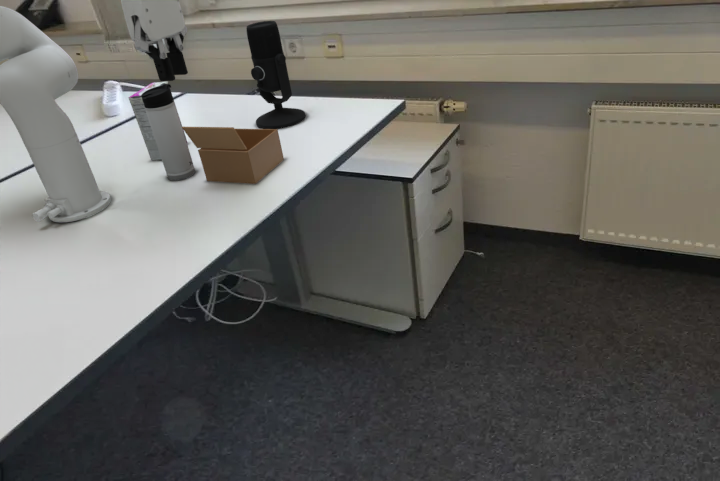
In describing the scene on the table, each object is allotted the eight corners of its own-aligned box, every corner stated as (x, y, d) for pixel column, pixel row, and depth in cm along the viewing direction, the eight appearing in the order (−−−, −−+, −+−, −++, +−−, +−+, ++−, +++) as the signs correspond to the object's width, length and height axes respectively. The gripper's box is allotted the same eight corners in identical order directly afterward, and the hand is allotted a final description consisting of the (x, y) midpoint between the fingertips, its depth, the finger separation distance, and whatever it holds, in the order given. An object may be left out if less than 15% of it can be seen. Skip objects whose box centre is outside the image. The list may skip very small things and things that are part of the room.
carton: (255, 184, 120) (247, 151, 116) (207, 181, 125) (197, 150, 121) (284, 159, 130) (277, 129, 126) (237, 157, 135) (230, 128, 131)
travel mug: (202, 171, 130) (176, 85, 120) (177, 183, 126) (148, 94, 116) (187, 166, 134) (161, 82, 124) (162, 177, 130) (133, 91, 120)
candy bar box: (171, 144, 150) (151, 82, 141) (188, 143, 148) (169, 80, 140) (149, 161, 140) (126, 96, 132) (167, 160, 139) (146, 95, 131)
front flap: (247, 148, 116) (246, 149, 116) (197, 147, 121) (196, 148, 121) (233, 127, 111) (233, 128, 111) (182, 126, 116) (181, 127, 116)
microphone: (246, 125, 154) (223, 29, 142) (282, 109, 163) (263, 17, 150) (279, 132, 146) (257, 31, 133) (316, 115, 154) (299, 18, 142)
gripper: (155, -38, 102) (184, 65, 112) (88, -23, 90) (127, 92, 99) (189, -42, 99) (216, 64, 109) (124, -28, 87) (161, 91, 96)
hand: (173, 76), depth 104 cm, fingers open, 3 cm apart
